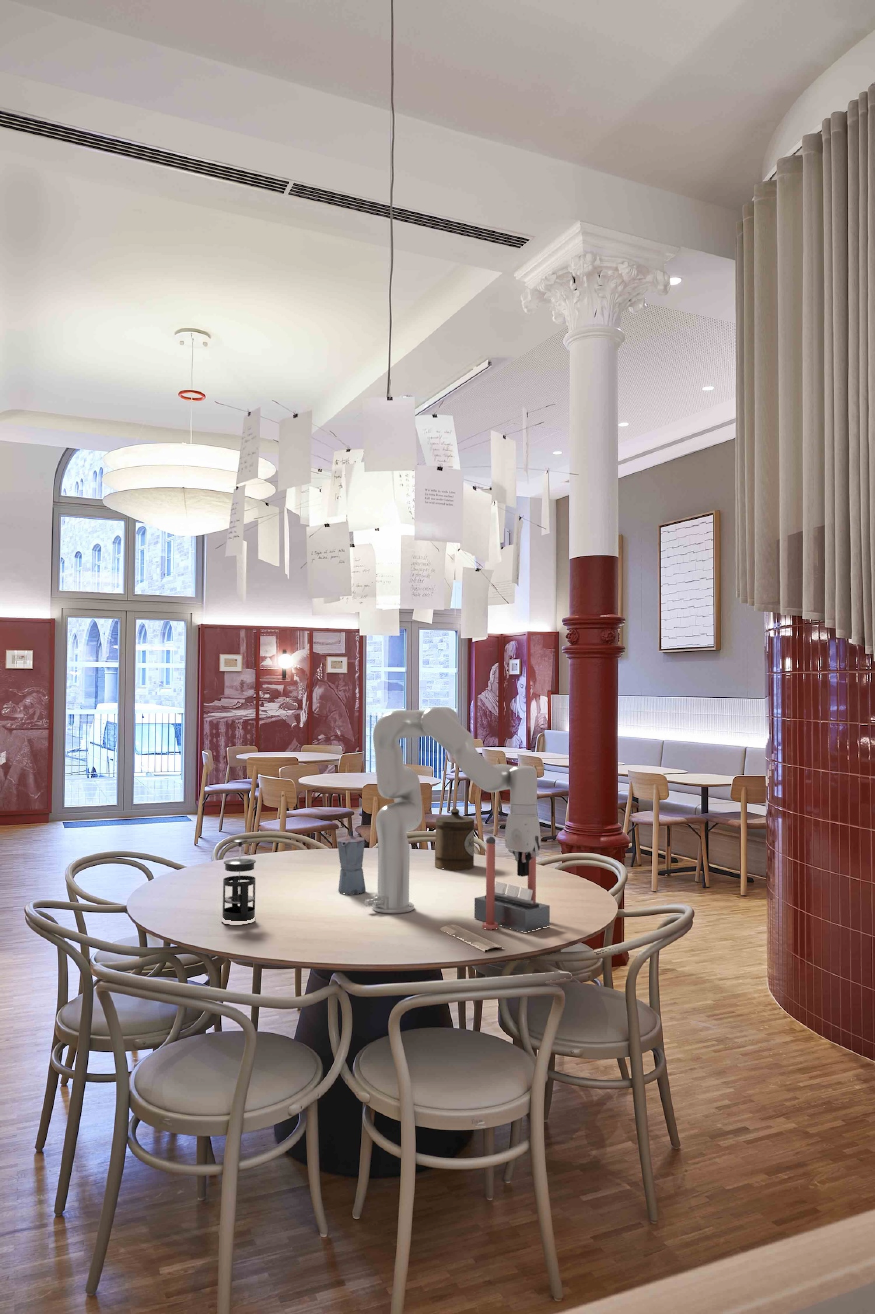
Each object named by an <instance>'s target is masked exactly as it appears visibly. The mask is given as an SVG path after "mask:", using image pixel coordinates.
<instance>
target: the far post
mask: <svg viewBox="0 0 875 1314" xmlns="http://www.w3.org/2000/svg"><path fill="white" fill-rule="evenodd" d="M536 872H537V857H533V858H532V859H531V861H530V862H529V875H528V876H527V889H530V890H533V893H532V897H531V900H532V901H533V902H537V883H536V882H537V873H536Z"/></svg>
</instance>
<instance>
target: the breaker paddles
mask: <svg viewBox="0 0 875 1314" xmlns="http://www.w3.org/2000/svg"><path fill="white" fill-rule="evenodd" d="M532 893H533V890H530V889H528V888H527V887H526V888H525V887H520V886H517V885H513V884H507V883H504V882H499V881H495V895H496V896H500V897H504V898H508V899H512V900H516V901H520V902H524V903H528V904H533V903H534V902H533V901H532V900H531V897H532Z"/></svg>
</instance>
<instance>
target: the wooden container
mask: <svg viewBox="0 0 875 1314" xmlns="http://www.w3.org/2000/svg"><path fill="white" fill-rule="evenodd" d="M450 813H451V814H450V815H449V816H439V817H436V819H435V839H434V840H435V844H434V867H435V868H437V867H438V868H437V869H439V868H444V869H450V870H449V871H466V869H467V870H471V869H473V868H474V865H475V862H474V861H475V829H474V828H475V819H474V818H473V817H469V816H461V815H460V810H459V809H458V808H456V807H454V808H452V809H451V810H450ZM470 868H471V869H470ZM444 869H443V870H444Z"/></svg>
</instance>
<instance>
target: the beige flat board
mask: <svg viewBox="0 0 875 1314" xmlns="http://www.w3.org/2000/svg"><path fill="white" fill-rule="evenodd" d="M440 930H442V931H445V932H448V933H449V934H451V935H455V937H459V938H462V939H464V941H467V942H471V944H473V945H477V946H479V948H481V949H485V950H487V951H488V950H490V949H494V948H498V949H499V948H502V947H503V946H502V945H499V944H497V943H495V942H493V941H491V940H489V939H486V938H484V937H482V936H481V935H478V934H476V933H474V932H472V931H470V930H468V929H466V928H464V927H461V926H460V925H456V924H448V925H444V926H442V927H440V928H439V931H440ZM442 931H441V932H442ZM503 948H505V947H503Z"/></svg>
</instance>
